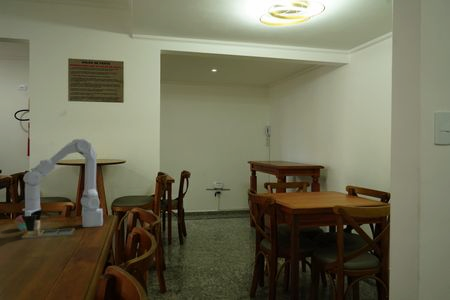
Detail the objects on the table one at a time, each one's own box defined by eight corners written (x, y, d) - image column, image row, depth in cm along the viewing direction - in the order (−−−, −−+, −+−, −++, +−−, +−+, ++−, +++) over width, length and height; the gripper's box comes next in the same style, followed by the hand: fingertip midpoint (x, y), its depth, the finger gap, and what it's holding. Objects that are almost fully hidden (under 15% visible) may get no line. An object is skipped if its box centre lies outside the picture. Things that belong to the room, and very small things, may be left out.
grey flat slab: (75, 231, 153) (75, 228, 153) (71, 236, 144) (71, 233, 144) (27, 234, 147) (27, 231, 147) (20, 240, 138) (20, 237, 138)
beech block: (40, 233, 146) (40, 220, 146) (37, 235, 143) (37, 222, 142) (30, 233, 145) (30, 220, 145) (27, 236, 141) (27, 222, 141)
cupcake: (39, 227, 160) (38, 203, 160) (27, 232, 152) (27, 206, 151) (22, 226, 161) (22, 203, 160) (10, 231, 152) (9, 206, 152)
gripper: (27, 196, 149) (28, 225, 150) (16, 201, 135) (17, 233, 136) (44, 195, 151) (45, 224, 152) (35, 201, 137) (36, 232, 138)
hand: (33, 228), depth 144 cm, fingers open, 7 cm apart
